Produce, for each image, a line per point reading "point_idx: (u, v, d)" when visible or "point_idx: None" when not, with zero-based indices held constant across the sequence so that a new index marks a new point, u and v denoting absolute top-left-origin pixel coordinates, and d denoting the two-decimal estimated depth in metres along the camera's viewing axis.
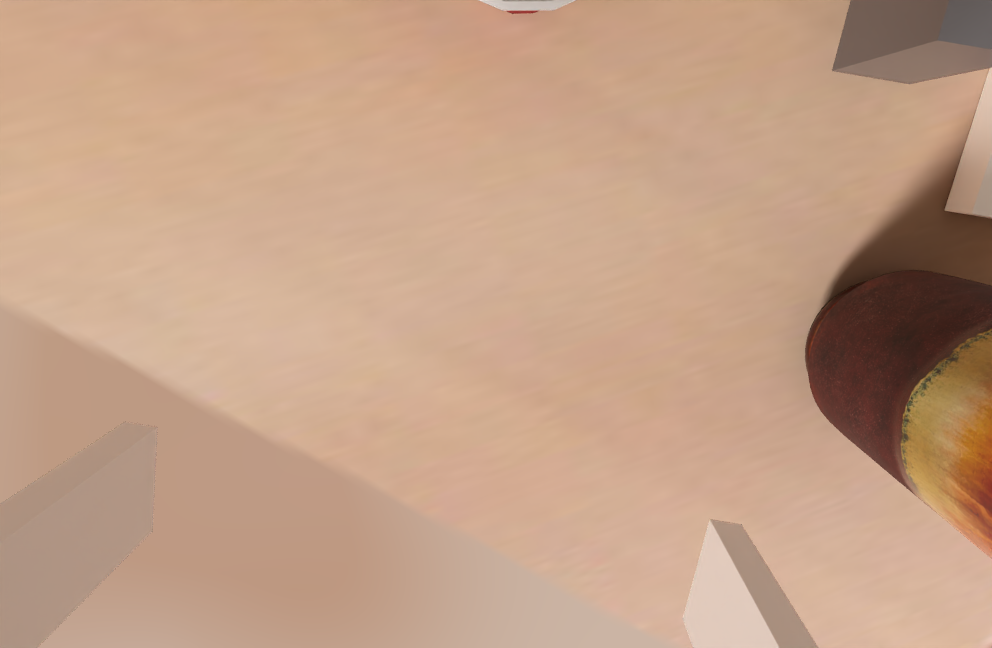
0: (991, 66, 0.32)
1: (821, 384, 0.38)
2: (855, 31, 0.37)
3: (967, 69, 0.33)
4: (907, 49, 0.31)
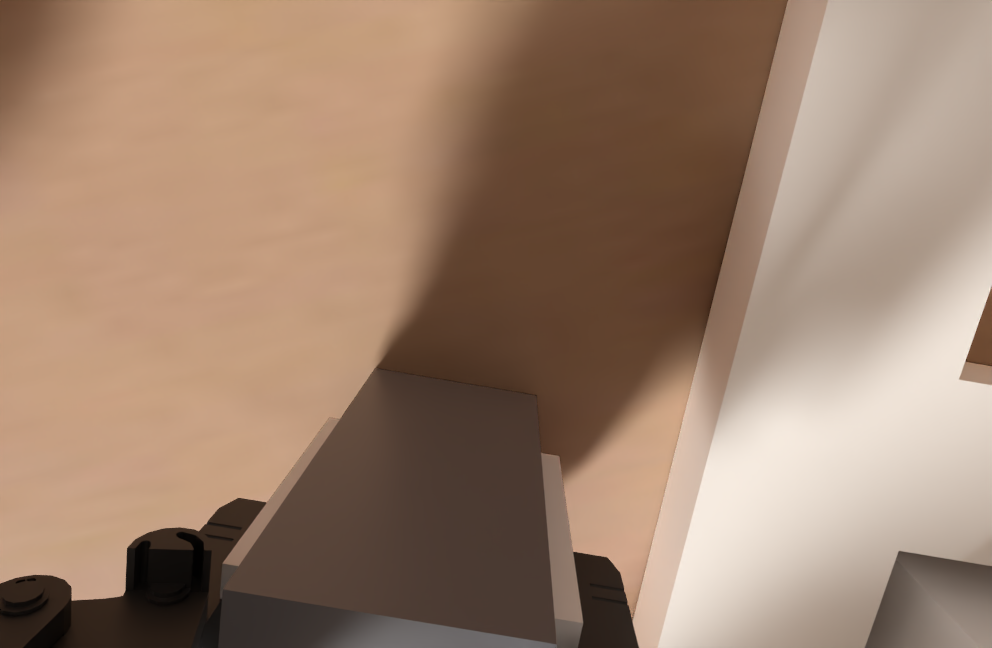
0: None
1: None
2: None
3: None
4: None
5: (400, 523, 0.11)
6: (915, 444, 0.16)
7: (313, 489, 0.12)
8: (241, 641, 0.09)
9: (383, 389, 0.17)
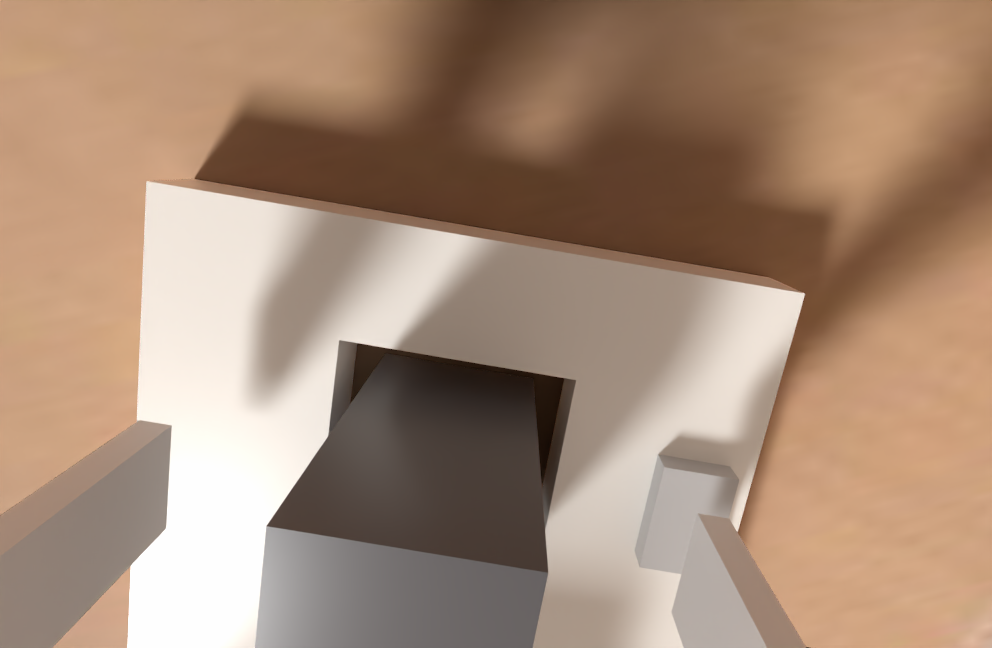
0: None
1: None
2: None
3: None
4: None
5: (412, 479, 0.13)
6: None
7: (336, 451, 0.14)
8: (281, 571, 0.11)
9: (393, 371, 0.19)
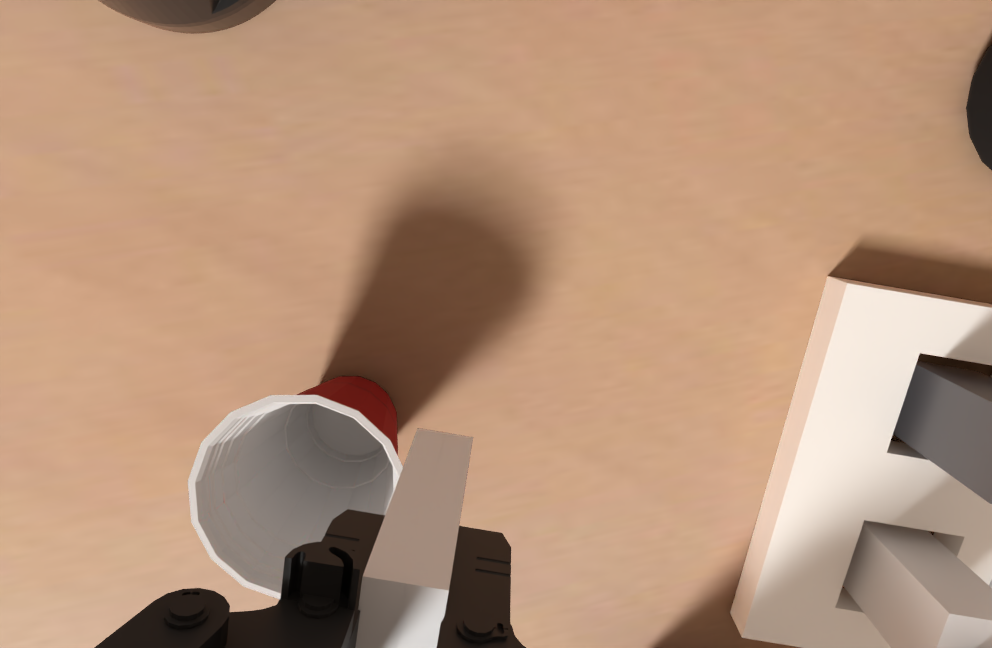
0: None
1: None
2: (906, 408, 0.41)
3: None
4: (960, 481, 0.35)
5: None
6: (870, 477, 0.41)
7: (987, 398, 0.35)
8: None
9: (927, 367, 0.40)
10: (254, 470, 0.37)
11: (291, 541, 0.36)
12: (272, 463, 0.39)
